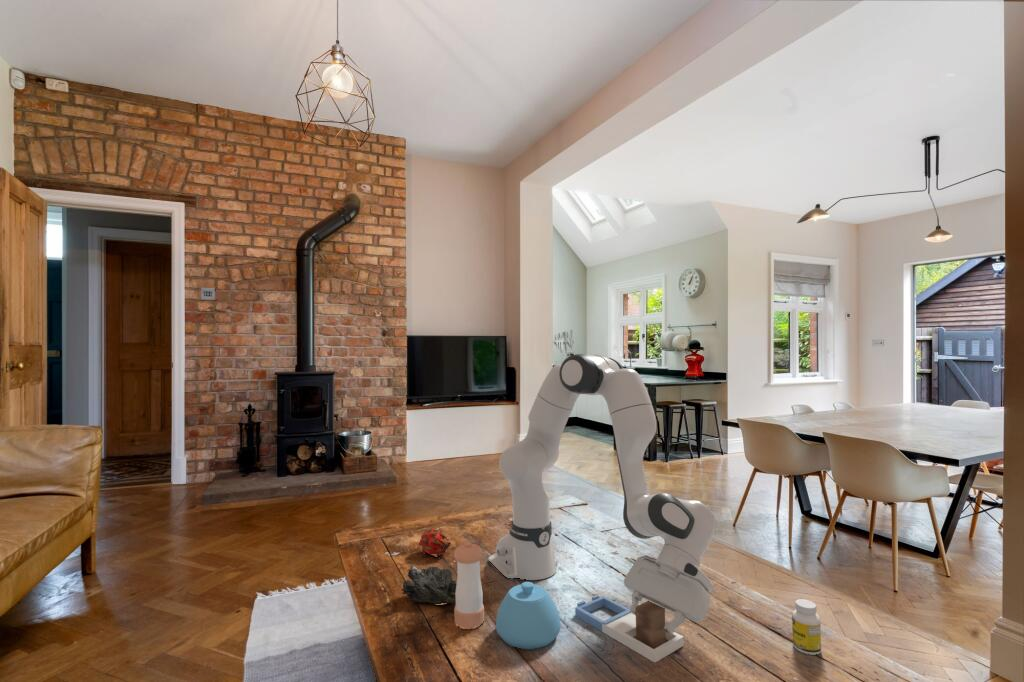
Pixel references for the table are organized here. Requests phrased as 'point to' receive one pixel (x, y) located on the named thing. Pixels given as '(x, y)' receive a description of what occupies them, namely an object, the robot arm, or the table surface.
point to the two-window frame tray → (625, 628)
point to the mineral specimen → (430, 585)
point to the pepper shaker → (468, 586)
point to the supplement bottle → (806, 627)
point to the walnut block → (650, 624)
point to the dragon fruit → (434, 542)
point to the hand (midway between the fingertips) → (649, 622)
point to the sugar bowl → (528, 617)
